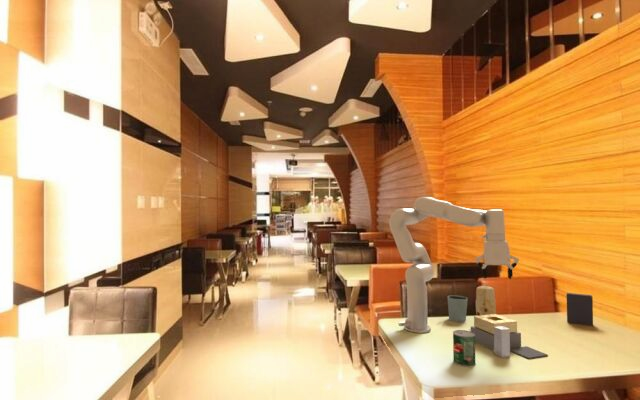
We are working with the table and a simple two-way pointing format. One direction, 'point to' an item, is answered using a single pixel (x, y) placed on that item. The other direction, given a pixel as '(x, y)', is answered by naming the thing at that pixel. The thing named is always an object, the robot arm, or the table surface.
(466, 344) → the canned tomato
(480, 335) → the grey square block
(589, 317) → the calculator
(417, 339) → the table surface
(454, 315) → the blue-grey cup
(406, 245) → the robot arm
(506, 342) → the light grey tall block
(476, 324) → the wooden block with hole
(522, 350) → the pad
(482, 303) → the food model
